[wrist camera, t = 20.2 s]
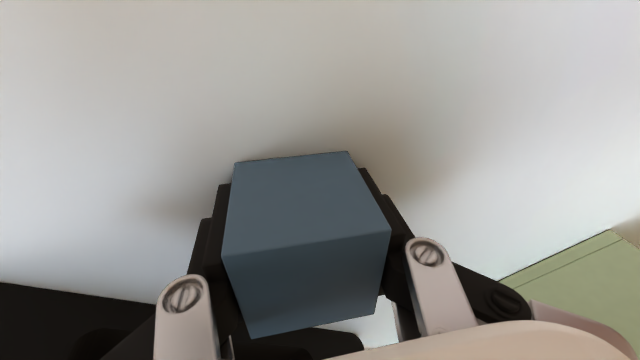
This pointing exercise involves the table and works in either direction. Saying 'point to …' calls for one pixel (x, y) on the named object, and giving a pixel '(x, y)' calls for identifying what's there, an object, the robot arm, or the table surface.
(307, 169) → the block
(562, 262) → the chest
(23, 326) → the device stand
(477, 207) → the table surface
